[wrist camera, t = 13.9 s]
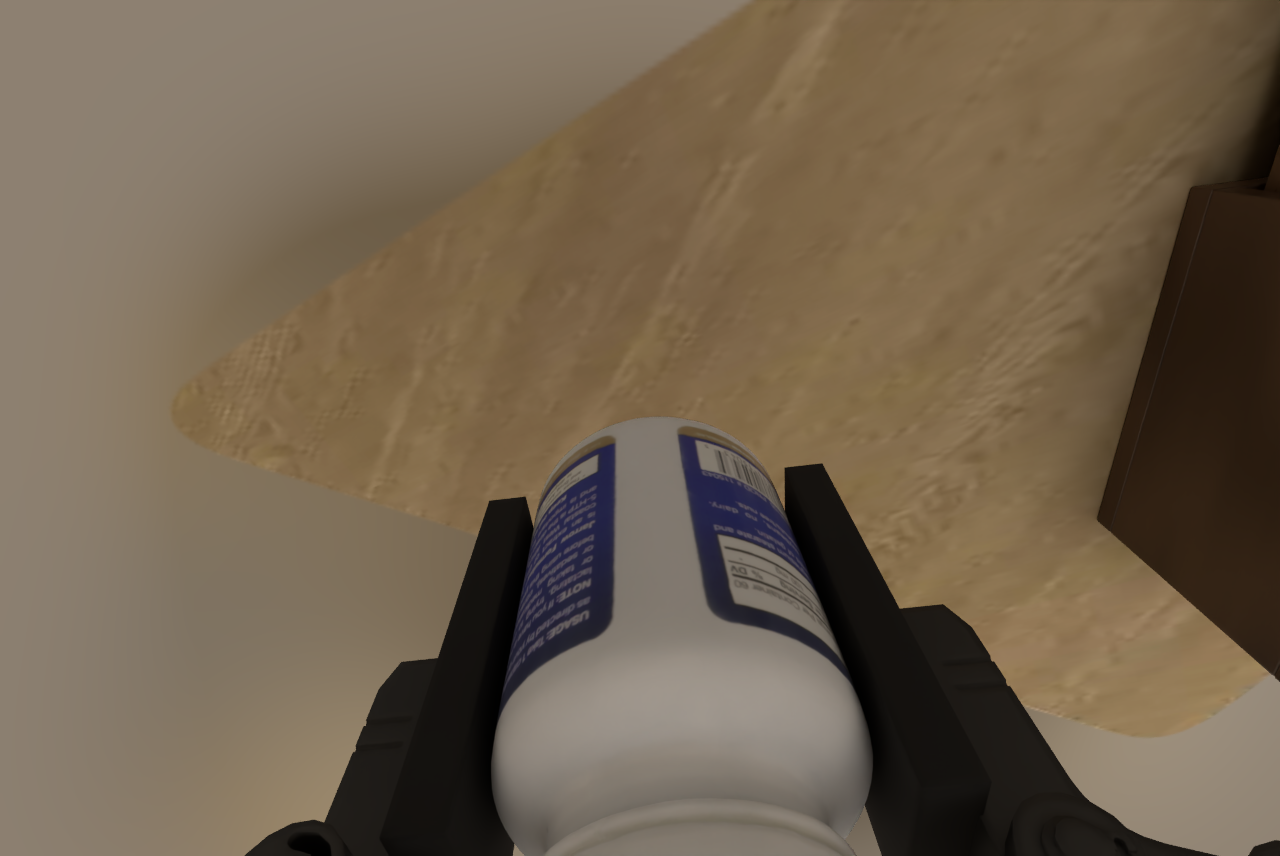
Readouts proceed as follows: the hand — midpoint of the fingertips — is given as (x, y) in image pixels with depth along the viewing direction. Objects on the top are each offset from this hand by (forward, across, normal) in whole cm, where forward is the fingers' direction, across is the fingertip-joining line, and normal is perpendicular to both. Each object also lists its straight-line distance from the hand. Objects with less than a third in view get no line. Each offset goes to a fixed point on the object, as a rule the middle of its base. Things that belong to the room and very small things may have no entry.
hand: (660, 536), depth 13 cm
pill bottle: (+1, 0, 0) cm, 1 cm away
